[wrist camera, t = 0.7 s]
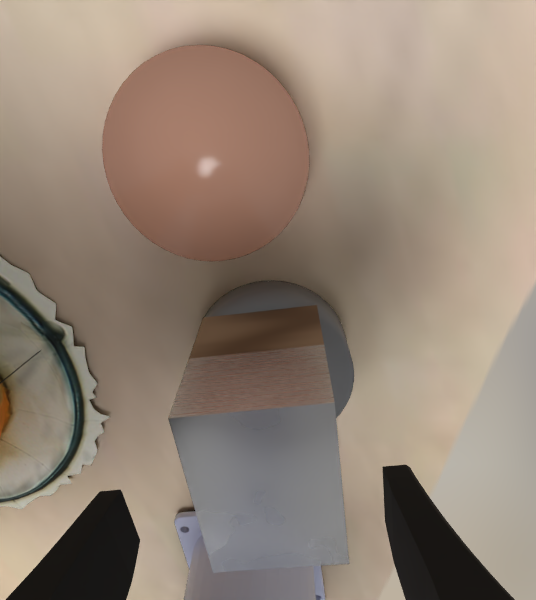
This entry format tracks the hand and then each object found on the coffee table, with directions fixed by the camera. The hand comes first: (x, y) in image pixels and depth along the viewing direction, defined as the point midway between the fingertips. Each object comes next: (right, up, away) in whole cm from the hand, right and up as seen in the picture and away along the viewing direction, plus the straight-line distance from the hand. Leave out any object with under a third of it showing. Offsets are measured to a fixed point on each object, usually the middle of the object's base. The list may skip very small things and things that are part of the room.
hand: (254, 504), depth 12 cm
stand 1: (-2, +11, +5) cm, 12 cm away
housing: (0, +2, +7) cm, 7 cm away
